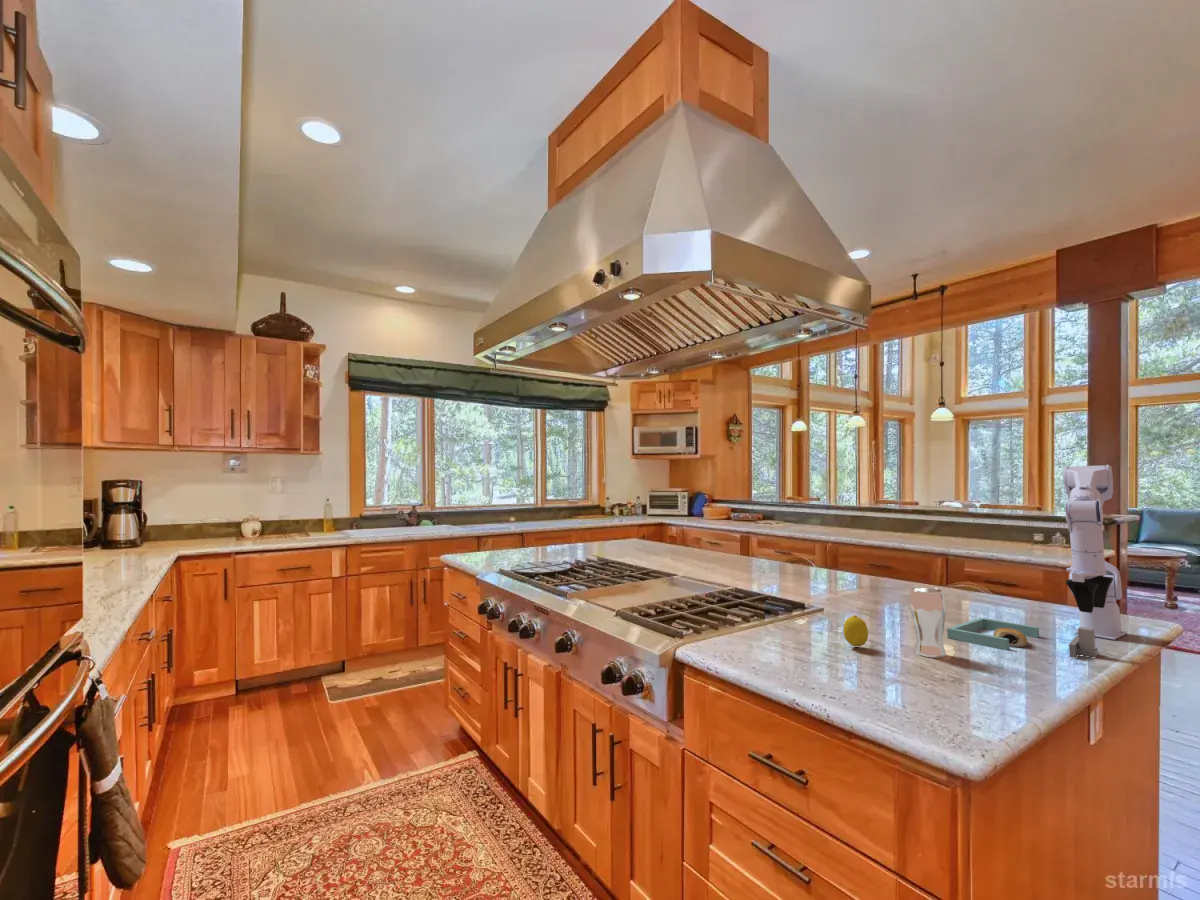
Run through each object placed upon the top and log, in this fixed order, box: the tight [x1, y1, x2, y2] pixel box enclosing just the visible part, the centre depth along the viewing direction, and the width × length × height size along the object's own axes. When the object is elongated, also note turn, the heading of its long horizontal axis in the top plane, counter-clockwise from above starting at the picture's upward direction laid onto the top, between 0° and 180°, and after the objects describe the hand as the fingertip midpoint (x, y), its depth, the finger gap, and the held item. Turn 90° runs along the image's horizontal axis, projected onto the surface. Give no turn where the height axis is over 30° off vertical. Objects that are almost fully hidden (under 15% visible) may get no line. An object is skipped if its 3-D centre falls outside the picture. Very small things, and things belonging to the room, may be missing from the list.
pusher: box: [1068, 626, 1099, 659], centre depth 125 cm, size 10×4×6 cm, turn 131°
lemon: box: [842, 614, 869, 647], centre depth 135 cm, size 6×6×8 cm
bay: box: [946, 617, 1040, 651], centre depth 140 cm, size 18×13×2 cm
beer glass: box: [910, 586, 947, 659], centre depth 129 cm, size 7×7×15 cm
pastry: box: [992, 628, 1029, 648], centre depth 136 cm, size 9×7×4 cm
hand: (1092, 609), depth 129 cm, fingers open, 7 cm apart
